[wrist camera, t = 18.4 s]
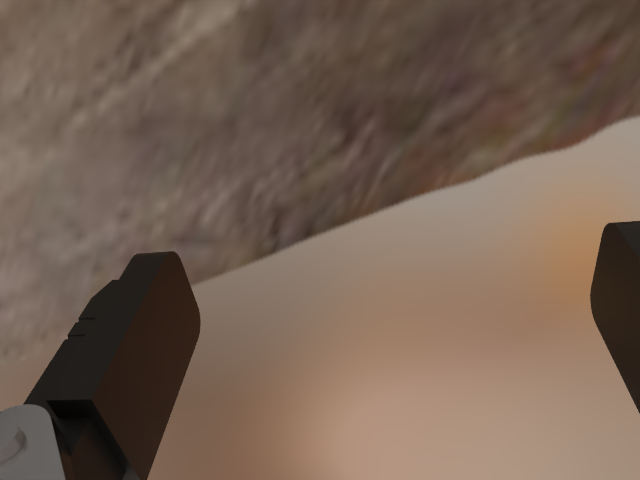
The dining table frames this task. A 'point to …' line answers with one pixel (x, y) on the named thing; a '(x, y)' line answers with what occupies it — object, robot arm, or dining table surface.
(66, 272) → the dining table surface
